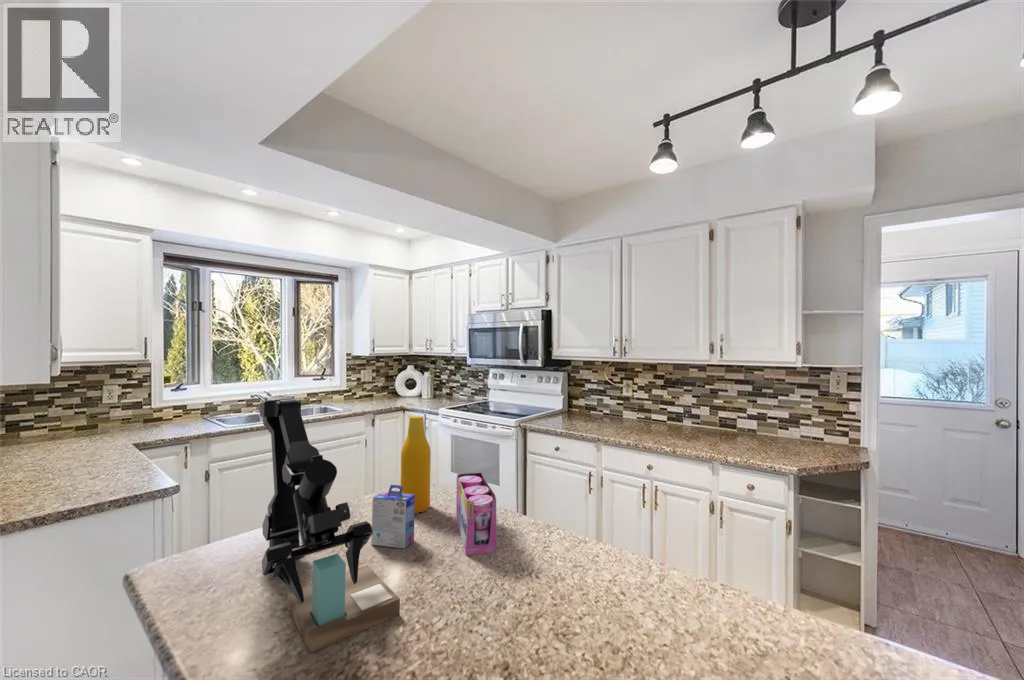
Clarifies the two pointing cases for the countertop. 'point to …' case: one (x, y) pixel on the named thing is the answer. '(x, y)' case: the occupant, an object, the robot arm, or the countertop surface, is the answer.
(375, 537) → the ink cartridge box
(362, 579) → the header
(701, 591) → the countertop surface
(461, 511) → the gum box
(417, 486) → the beer bottle
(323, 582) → the plug
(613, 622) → the countertop surface
